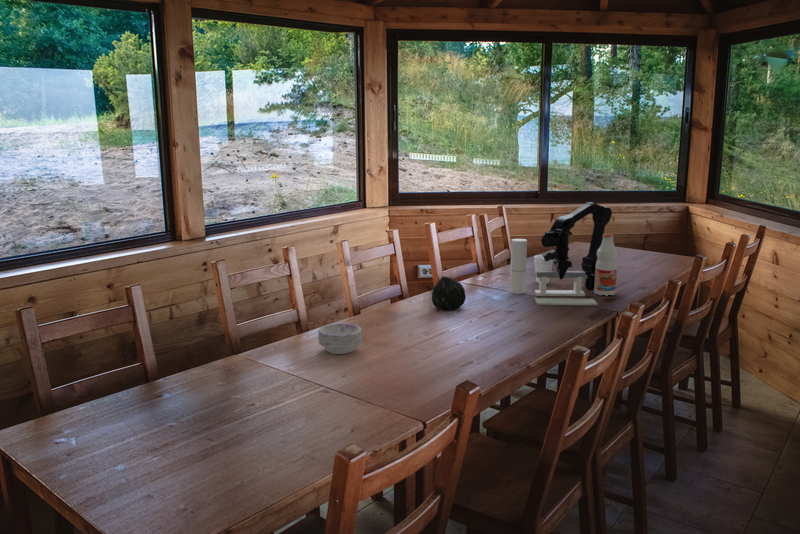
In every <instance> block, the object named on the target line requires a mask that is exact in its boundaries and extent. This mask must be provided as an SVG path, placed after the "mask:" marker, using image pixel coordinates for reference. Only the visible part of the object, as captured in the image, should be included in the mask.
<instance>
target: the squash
mask: <svg viewBox="0 0 800 534" xmlns="http://www.w3.org/2000/svg"><path fill="white" fill-rule="evenodd" d="M466 298H467V297H466V290H465V288H464V286H463V284H462V283H460V282H459V281H456V280H455V279H454V278H453V279H452V278H451V277H449V276H441V278H440V279H439V281H438V282H437V283H436V284H434V287H433V289H432V292H431V301H432V305H433V306H434V307H435V308H438V309H440V310H442V311H443V310H447V311H452V310H453V311H454V310H459V308H460V307H461V306H464V304H465V301H466Z"/></svg>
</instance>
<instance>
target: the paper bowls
mask: <svg viewBox="0 0 800 534" xmlns="http://www.w3.org/2000/svg"><path fill="white" fill-rule="evenodd" d="M317 331H318V344H319V345H320V346H321V347H324V349H325V351H326V352H327V353H330V354H332V355H333V354H334V355H345V354H350V353H353V351H355V350H356V348H357V346H360V345H361V344H362V342H363V339H362V338H363V337H362V335H363V334H362V333H363V332H362V327H361V326H359V325H357V324H353V323H345V322H344V323H329V324H326V325H323V326H321V327H320V328H319V329H318V330H317Z"/></svg>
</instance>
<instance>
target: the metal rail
mask: <svg viewBox="0 0 800 534" xmlns="http://www.w3.org/2000/svg"><path fill="white" fill-rule="evenodd" d="M541 276H544V277H547V278H550V279H553V278H555V279H557V278H559V279H560V276H559V271H557V270H551V271H536V272H535V278H536V277H537V278H541ZM576 277H582V279H585V278H586V272H585V271H583V270H567V271H566V273H565V275H564V277H563V279H566V278H567V279H569V278H570V279H572V278H573V279H574V278H576Z"/></svg>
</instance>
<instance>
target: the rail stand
mask: <svg viewBox="0 0 800 534" xmlns="http://www.w3.org/2000/svg"><path fill="white" fill-rule="evenodd" d="M538 284H539V285H538V289H535V290H534V294H535V293H536V294H535V295H536V297H586V293H585V292H584V290H582V284H583V278H582V277H576V278H573V290H572V289H571V290H570V289H569V290H567V289H565V290H564V289H562V290H561V289H560V290H559V289H547V284H548V283H547V277H544V276H541V278H539V283H538Z"/></svg>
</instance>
